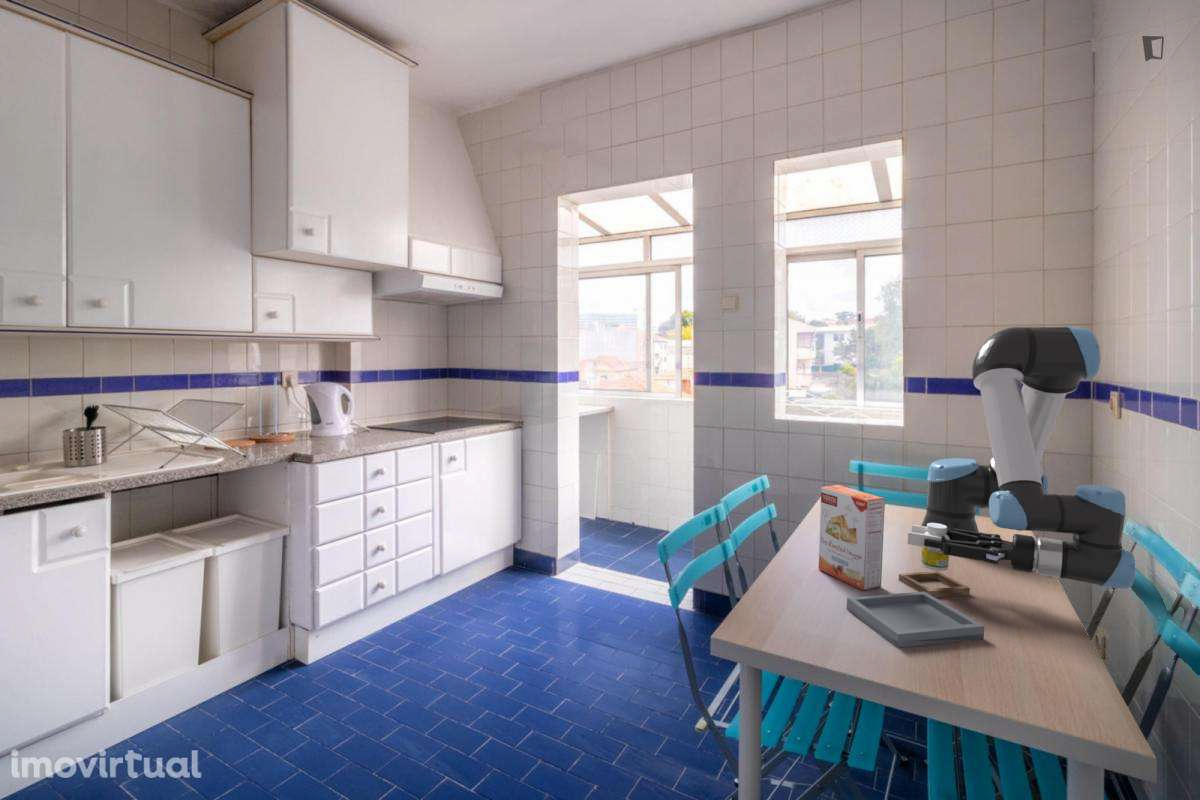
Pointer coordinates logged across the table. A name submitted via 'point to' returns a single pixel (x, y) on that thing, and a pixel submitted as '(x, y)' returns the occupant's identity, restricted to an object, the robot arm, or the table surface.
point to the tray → (914, 619)
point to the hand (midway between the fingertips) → (910, 534)
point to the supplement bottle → (935, 557)
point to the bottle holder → (954, 588)
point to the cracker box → (851, 536)
